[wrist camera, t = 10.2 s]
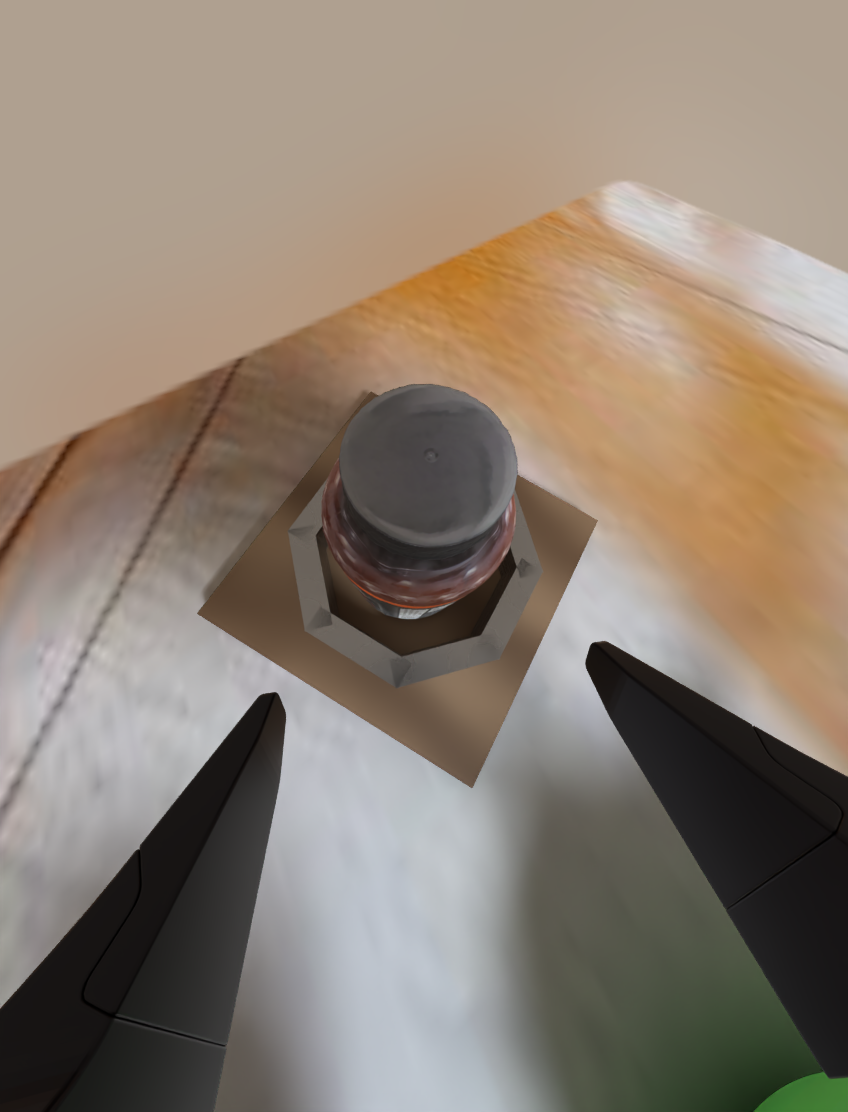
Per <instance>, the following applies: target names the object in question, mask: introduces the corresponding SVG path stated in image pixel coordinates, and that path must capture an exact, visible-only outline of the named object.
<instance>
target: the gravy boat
mask: <svg viewBox="0 0 848 1112" xmlns="http://www.w3.org/2000/svg"><path fill="white" fill-rule="evenodd" d="M754 1112H848V1078H838V1079H829V1078H828V1077H827V1075H826V1074H825V1072H821V1073H816V1074H812V1075H809V1076H806V1077H803V1078H800V1079H798V1080H796V1081H793V1082H791V1083H789V1084H787V1085H786V1086H784V1087H782V1088H781V1089H779V1090H777V1091H776V1092H775V1093H773V1094H772V1095H771V1096H769V1097H768V1098H767V1099H766V1100H765V1101H763V1102H762V1103H761V1104H760V1105H759V1106H758V1107H757V1108H756V1109H755V1110H754Z"/></svg>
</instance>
